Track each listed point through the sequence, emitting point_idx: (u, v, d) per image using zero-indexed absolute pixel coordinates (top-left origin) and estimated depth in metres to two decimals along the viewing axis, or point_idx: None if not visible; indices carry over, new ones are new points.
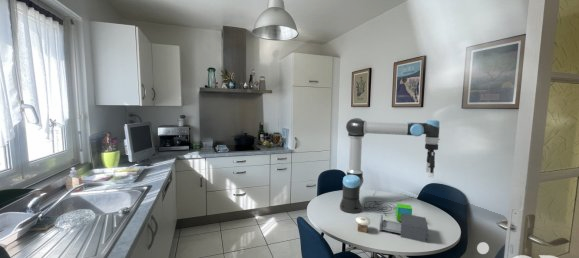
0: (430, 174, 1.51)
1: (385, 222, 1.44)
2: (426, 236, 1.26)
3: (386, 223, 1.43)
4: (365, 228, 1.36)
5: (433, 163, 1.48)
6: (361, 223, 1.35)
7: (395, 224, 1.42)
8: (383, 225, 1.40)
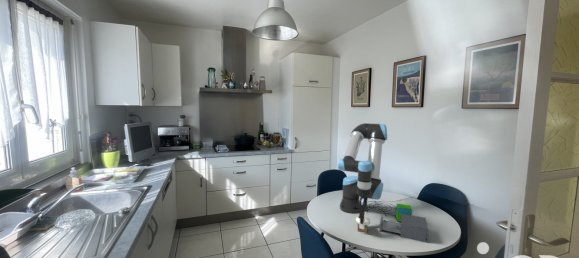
0: (360, 225, 1.34)
1: (385, 222, 1.44)
2: (426, 236, 1.26)
3: (386, 223, 1.43)
4: (365, 228, 1.36)
5: (362, 214, 1.31)
6: None
7: (395, 224, 1.42)
8: (383, 225, 1.40)
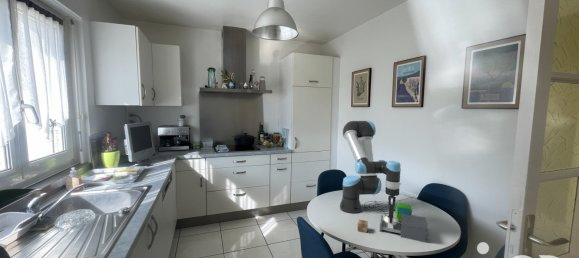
0: (389, 224, 1.36)
1: None
2: (426, 236, 1.26)
3: (386, 223, 1.43)
4: (365, 228, 1.36)
5: (392, 214, 1.32)
6: None
7: None
8: (383, 225, 1.40)
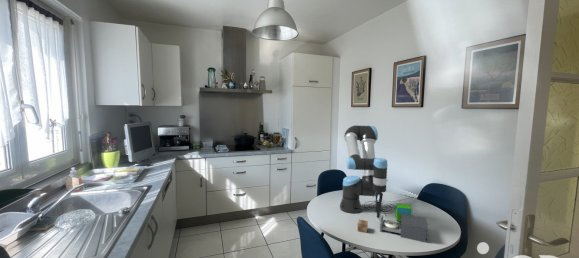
0: (377, 219, 1.42)
1: None
2: (426, 236, 1.26)
3: None
4: (365, 228, 1.36)
5: (379, 209, 1.38)
6: (390, 227, 1.36)
7: None
8: (383, 225, 1.40)
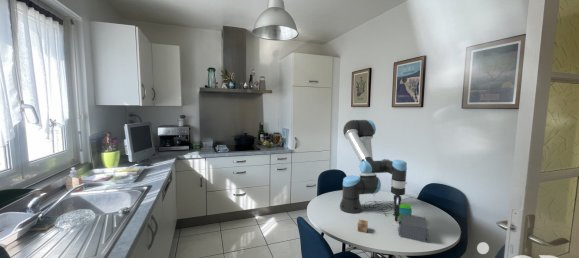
0: (395, 222, 1.38)
1: None
2: (426, 236, 1.26)
3: None
4: (365, 228, 1.36)
5: (397, 213, 1.34)
6: None
7: None
8: None
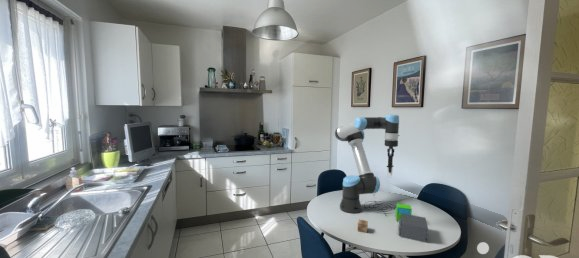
0: (388, 174, 1.45)
1: None
2: (426, 236, 1.26)
3: None
4: (365, 228, 1.36)
5: (391, 163, 1.41)
6: None
7: None
8: None
